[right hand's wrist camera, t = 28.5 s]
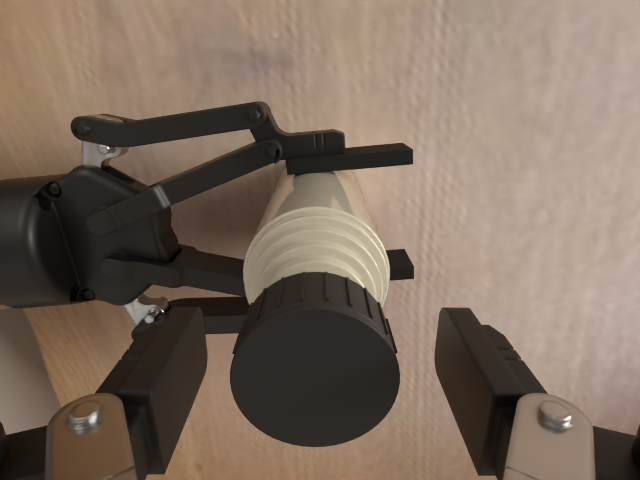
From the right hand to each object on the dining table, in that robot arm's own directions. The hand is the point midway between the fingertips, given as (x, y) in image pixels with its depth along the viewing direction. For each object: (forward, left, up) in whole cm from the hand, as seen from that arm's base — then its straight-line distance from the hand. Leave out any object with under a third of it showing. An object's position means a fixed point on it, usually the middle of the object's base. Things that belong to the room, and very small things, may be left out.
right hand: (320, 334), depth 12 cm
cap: (0, 0, +1) cm, 1 cm away
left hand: (-3, -4, -12) cm, 13 cm away
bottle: (0, 0, -18) cm, 18 cm away
